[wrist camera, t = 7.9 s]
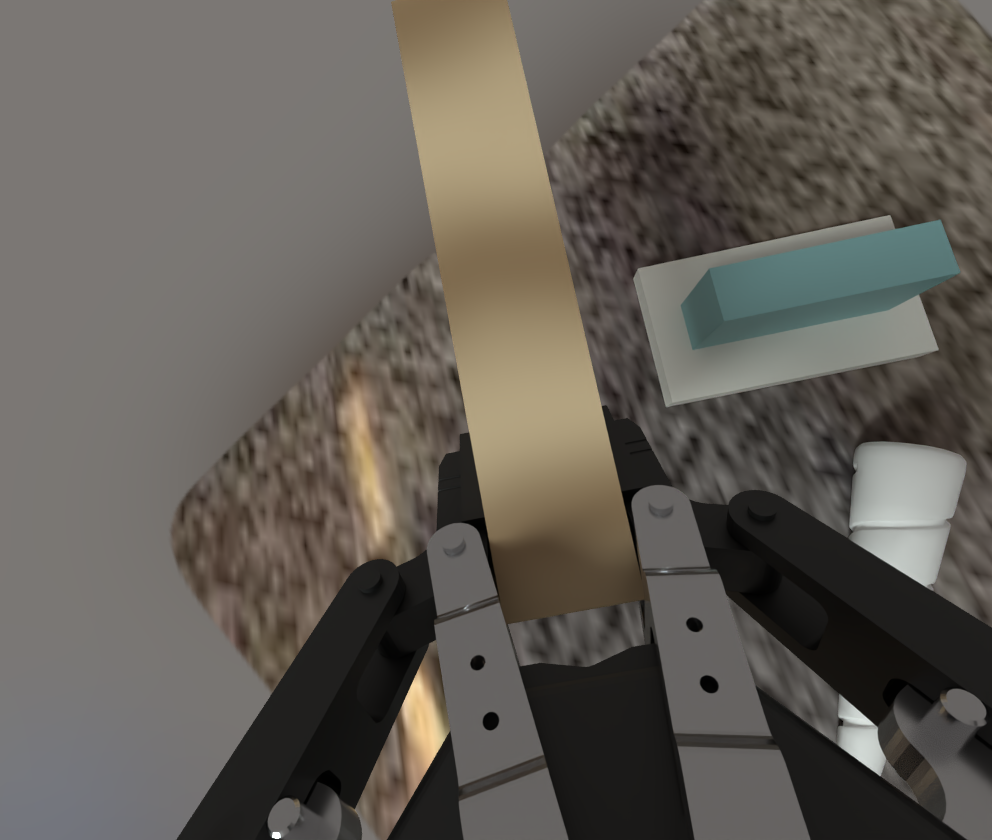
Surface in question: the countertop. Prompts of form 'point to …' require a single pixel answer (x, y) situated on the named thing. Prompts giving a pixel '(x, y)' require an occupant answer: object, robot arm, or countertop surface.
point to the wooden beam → (514, 317)
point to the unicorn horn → (898, 538)
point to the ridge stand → (792, 307)
